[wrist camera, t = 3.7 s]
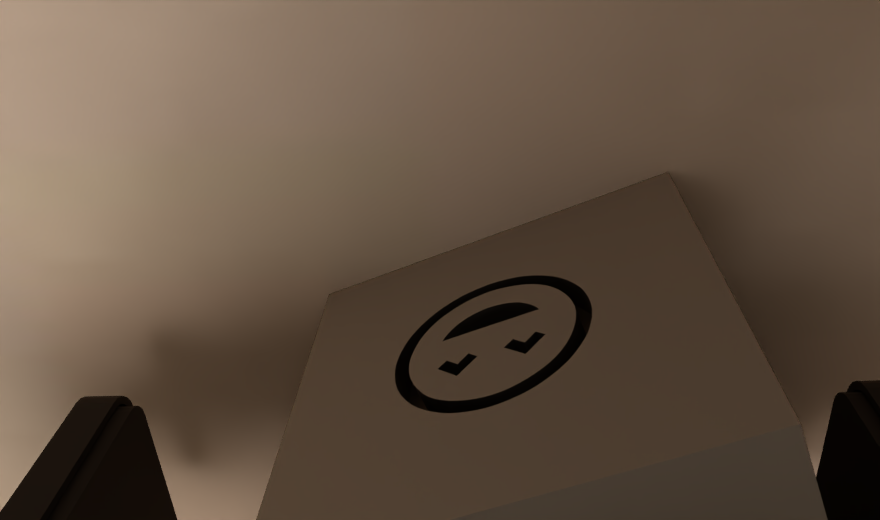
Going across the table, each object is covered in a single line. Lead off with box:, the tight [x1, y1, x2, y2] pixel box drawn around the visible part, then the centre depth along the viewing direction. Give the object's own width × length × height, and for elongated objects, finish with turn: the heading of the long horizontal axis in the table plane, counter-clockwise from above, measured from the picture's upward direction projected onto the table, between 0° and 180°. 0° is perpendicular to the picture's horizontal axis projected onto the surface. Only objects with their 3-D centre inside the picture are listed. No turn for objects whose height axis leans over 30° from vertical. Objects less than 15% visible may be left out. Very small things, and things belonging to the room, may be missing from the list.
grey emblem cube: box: [256, 172, 828, 520], centre depth 10 cm, size 5×5×5 cm
